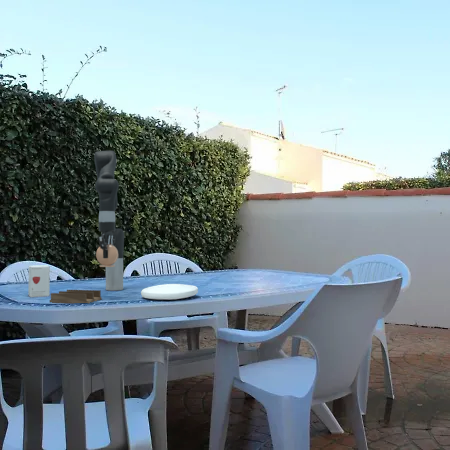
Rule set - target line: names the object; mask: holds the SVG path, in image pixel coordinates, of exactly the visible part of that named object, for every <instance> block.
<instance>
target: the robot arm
mask: <svg viewBox="0 0 450 450" xmlns="http://www.w3.org/2000/svg"><path fill="white" fill-rule="evenodd" d="M116 154H117V153H115V151H114V150H99V151H95V152H94V158H93V159H94V165H95V171H96V177H97V180H96V181H95V184H94V185H95V186H94V187H95V191H96V192H97V193H98V197H99V206H98V207H99V209H98V210H99V213H98V231H99V232H101V234H100V236H99V237H98V243H99V247H100V248H101V249H102V250H103V258H108V245H109V244H111V245H113V246H115V247H116V249H117V250H118V259H117V261H116V262H115V263H114V264H112V265H115V267H105V291H122V290H124V253H125V252H124V248H125V247H124V246H125V232H124V230H123V229H122V228H116V213H115V211H116V210H117V208H118V204H119V202H118V191H119V181H118V180H117V179H115V171H116V168H117V155H116Z"/></svg>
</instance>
